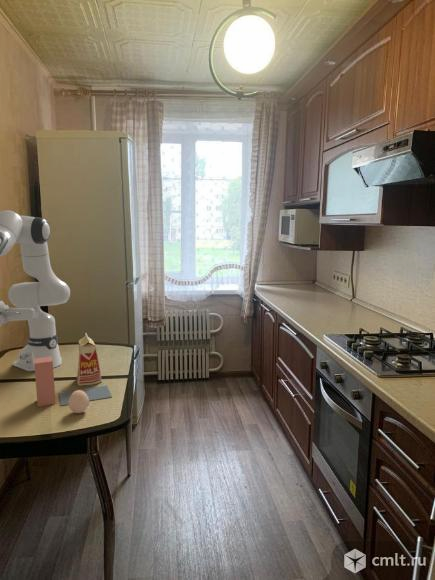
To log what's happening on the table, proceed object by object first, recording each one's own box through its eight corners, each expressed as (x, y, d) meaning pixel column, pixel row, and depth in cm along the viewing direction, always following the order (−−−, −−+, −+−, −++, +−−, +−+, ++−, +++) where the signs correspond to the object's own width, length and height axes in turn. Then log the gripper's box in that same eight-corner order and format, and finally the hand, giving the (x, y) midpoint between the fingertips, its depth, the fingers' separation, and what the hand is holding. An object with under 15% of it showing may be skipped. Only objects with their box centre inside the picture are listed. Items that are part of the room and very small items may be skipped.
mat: (60, 405, 146) (60, 405, 146) (59, 393, 157) (59, 392, 157) (111, 397, 154) (111, 396, 153) (107, 386, 164) (106, 385, 164)
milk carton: (76, 379, 172) (73, 333, 169) (99, 376, 176) (96, 330, 173) (78, 387, 164) (75, 338, 161) (102, 383, 167) (99, 335, 164)
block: (37, 406, 146) (34, 363, 144) (37, 400, 152) (34, 358, 149) (55, 403, 149) (52, 361, 146) (55, 397, 154) (52, 356, 152)
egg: (88, 415, 139) (87, 393, 138) (68, 417, 137) (66, 395, 136) (90, 407, 145) (89, 386, 144) (70, 409, 144) (69, 387, 143)
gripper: (6, 302, 129) (50, 305, 139) (-13, 305, 144) (27, 308, 153) (5, 322, 129) (49, 324, 138) (-15, 323, 143) (26, 325, 153)
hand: (37, 315), depth 146 cm, fingers open, 8 cm apart
